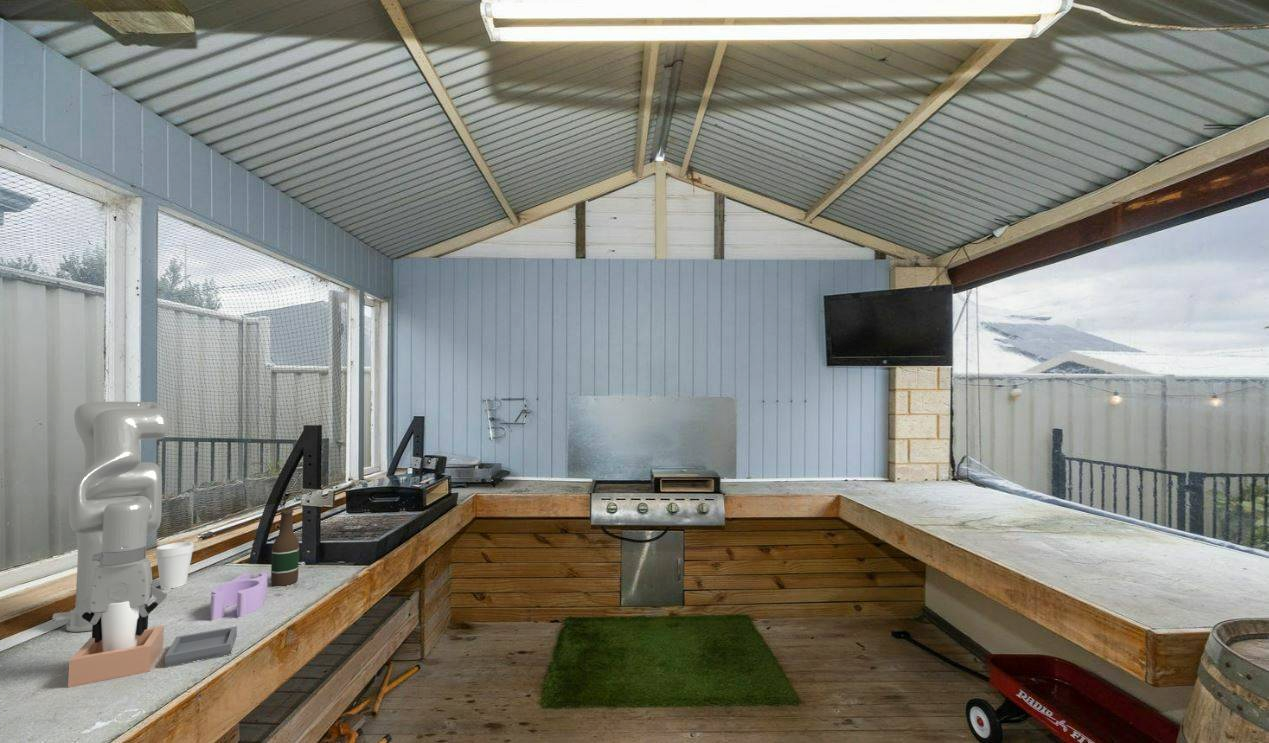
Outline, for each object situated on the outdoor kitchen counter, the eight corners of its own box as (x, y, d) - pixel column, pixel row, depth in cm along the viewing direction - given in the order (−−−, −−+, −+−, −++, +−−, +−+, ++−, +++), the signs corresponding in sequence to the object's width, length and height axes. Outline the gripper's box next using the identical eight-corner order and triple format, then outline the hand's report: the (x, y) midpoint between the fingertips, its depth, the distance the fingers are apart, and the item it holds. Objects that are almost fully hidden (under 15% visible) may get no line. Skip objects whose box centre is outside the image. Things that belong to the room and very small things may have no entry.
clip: (231, 597, 168) (232, 574, 168) (278, 593, 171) (278, 570, 171) (199, 622, 148) (200, 596, 149) (252, 617, 152) (253, 592, 152)
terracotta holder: (68, 687, 114) (69, 660, 115) (89, 662, 126) (90, 637, 126) (149, 671, 121) (150, 646, 121) (162, 648, 132) (163, 625, 133)
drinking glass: (101, 677, 119) (105, 606, 120) (95, 667, 123) (99, 599, 124) (142, 665, 124) (146, 597, 125) (135, 656, 128) (138, 591, 129)
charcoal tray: (164, 667, 123) (165, 656, 123) (175, 647, 133) (176, 636, 133) (230, 654, 129) (231, 644, 129) (236, 636, 139) (236, 626, 139)
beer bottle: (295, 578, 185) (297, 506, 187) (301, 583, 180) (303, 509, 181) (268, 583, 180) (270, 509, 181) (273, 589, 174) (275, 513, 176)
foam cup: (196, 584, 179) (198, 544, 180) (161, 593, 171) (162, 551, 172) (185, 579, 184) (186, 540, 185) (149, 587, 176) (151, 546, 177)
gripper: (65, 566, 117) (60, 652, 116) (169, 554, 126) (166, 634, 125) (77, 558, 124) (73, 639, 123) (176, 547, 132) (173, 623, 131)
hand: (120, 636), depth 124 cm, fingers closed on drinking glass, 6 cm apart
